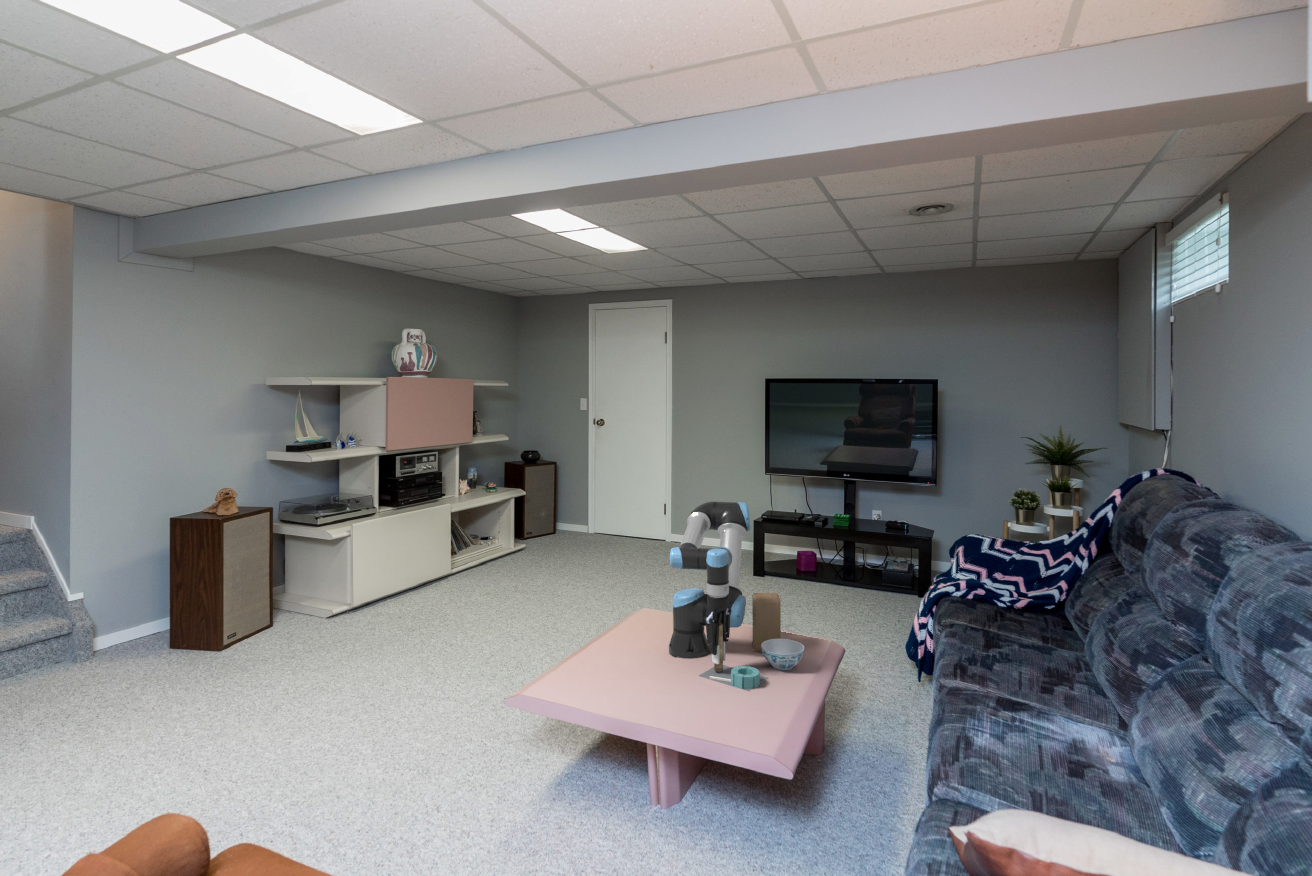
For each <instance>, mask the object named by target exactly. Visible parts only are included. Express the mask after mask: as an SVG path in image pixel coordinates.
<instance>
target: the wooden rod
mask: <svg viewBox="0 0 1312 876" xmlns="http://www.w3.org/2000/svg"><path fill="white" fill-rule="evenodd" d="M718 645H719V653H720V664H716V663H713V665H714V666H713V667H714V670H715V671H716V672H722V671H723V665H724V661H723V625H722V623H721V625H720V626H719V636H718Z"/></svg>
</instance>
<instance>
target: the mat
mask: <svg viewBox="0 0 1312 876" xmlns="http://www.w3.org/2000/svg"><path fill="white" fill-rule="evenodd" d="M733 668H734V667H732V666H728V665H726V664H723V671H722V672H716V671H715V670H714V666H713V667H712V668H710V669H708V670H706V671H704V672H702V673H701V674H699V675H698V677H701V678H704V679H707V680H711V681H714V682H717V683H720V684H724V685H727V686H730V687H734V686H733V685H732V683H731V682H729V681H723V680H717V679H711V678H709V677H710V676H713V677H719V678H725V679H731V670H732V669H733ZM768 679H769V677H766V676H764V675H760V684H762V683H764V682H765V681H766V680H768ZM734 688H736V689H738V688H737V687H734ZM742 690H743V691H745V692H746V691H747V692H749V691H752V689H744V688H743V689H742Z"/></svg>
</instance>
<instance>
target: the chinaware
mask: <svg viewBox="0 0 1312 876" xmlns="http://www.w3.org/2000/svg"><path fill="white" fill-rule="evenodd" d="M761 649H762V652H761V653H762V655H763V657H764V658H765V660H766V661H767V663H769V664H770V665H771V666H772V668H774V669H775V670H779V671H790V670H792V669H793V668H794V667H795V666H797V665H798V664H799V662H800V661H801V660H802V658H803V656H804V652H805V645H804V644H803V643H801V642H799V641H796V640H793V639H789V638H781V639H770V640H767V641H764V642H763V643H762V644H761Z"/></svg>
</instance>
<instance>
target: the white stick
mask: <svg viewBox="0 0 1312 876" xmlns="http://www.w3.org/2000/svg"><path fill="white" fill-rule="evenodd" d="M709 678H711V679H717V680H723V681H729V682H731V679H725V678H719V677H713V676H710V677H709Z"/></svg>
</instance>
